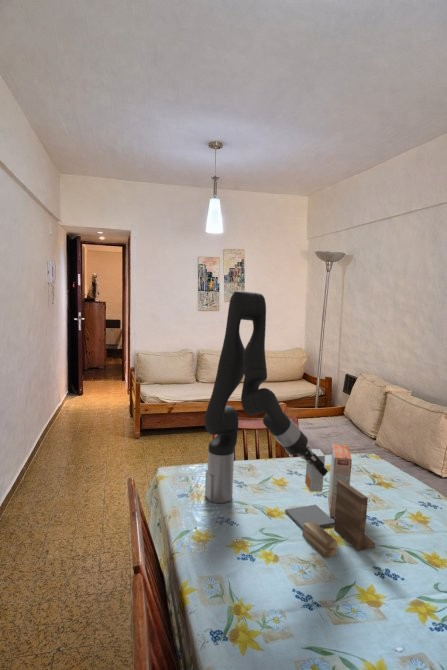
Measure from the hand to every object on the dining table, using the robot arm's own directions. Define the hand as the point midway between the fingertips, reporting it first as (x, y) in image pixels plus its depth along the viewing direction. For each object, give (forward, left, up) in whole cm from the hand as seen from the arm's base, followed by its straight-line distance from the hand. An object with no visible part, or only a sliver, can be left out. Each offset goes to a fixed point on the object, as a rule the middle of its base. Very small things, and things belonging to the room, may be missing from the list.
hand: (319, 468), depth 139 cm
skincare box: (-2, 0, -6) cm, 7 cm away
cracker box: (+12, +5, -18) cm, 22 cm away
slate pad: (-1, +2, -18) cm, 18 cm away
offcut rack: (0, -12, -18) cm, 22 cm away
